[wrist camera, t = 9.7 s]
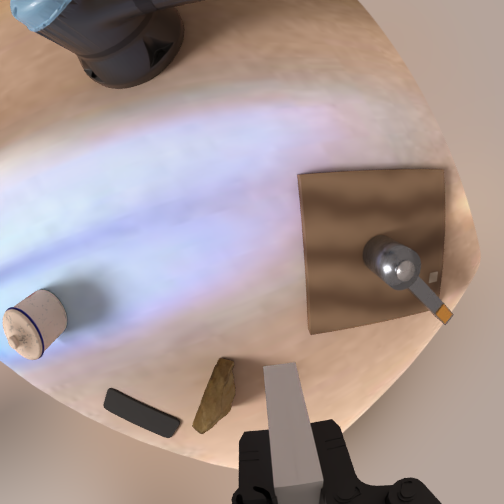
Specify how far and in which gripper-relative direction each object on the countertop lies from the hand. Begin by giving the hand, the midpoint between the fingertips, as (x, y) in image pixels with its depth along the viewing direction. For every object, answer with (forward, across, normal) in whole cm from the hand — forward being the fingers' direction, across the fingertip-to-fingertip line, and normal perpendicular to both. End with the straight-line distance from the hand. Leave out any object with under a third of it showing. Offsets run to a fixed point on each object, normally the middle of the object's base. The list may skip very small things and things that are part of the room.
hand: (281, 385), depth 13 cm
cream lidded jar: (+27, -38, -8) cm, 47 cm away
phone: (+27, -26, -30) cm, 48 cm away
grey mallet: (+24, +20, -6) cm, 32 cm away
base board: (+26, +17, -2) cm, 31 cm away
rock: (+27, -8, -22) cm, 35 cm away
